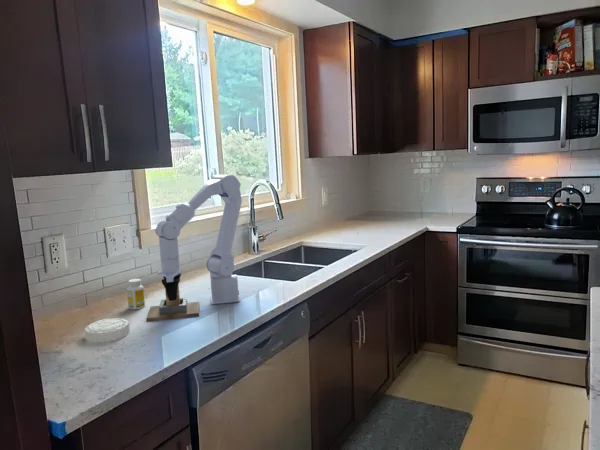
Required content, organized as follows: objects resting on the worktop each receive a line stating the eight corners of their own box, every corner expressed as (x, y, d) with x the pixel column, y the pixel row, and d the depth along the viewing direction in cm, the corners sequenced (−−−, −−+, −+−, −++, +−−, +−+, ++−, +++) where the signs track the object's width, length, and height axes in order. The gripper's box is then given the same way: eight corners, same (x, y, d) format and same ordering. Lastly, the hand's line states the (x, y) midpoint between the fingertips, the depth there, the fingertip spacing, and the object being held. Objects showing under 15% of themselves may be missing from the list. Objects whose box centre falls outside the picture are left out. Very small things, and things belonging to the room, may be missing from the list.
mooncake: (113, 325, 143) (112, 314, 143) (138, 332, 137) (137, 320, 136) (76, 338, 133) (75, 326, 133) (102, 346, 127) (100, 334, 126)
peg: (180, 302, 154) (178, 279, 153) (179, 306, 150) (177, 282, 149) (167, 304, 153) (165, 280, 152) (166, 307, 149) (164, 283, 148)
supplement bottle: (126, 310, 156) (124, 282, 155) (130, 305, 161) (128, 278, 160) (143, 309, 157) (140, 281, 155) (146, 304, 162) (144, 277, 161)
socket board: (199, 304, 159) (198, 294, 159) (199, 315, 148) (198, 305, 147) (150, 309, 156) (149, 299, 156) (146, 321, 145) (145, 310, 144)
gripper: (158, 253, 155) (162, 293, 157) (154, 263, 141) (158, 306, 143) (180, 252, 157) (183, 291, 159) (178, 261, 143) (181, 303, 145)
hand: (173, 298), depth 151 cm, fingers closed on peg, 4 cm apart
